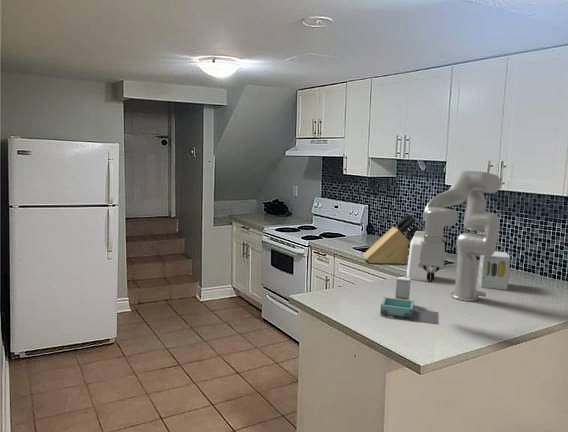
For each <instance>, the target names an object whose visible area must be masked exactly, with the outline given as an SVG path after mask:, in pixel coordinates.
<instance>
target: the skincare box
mask: <svg viewBox="0 0 568 432" xmlns="http://www.w3.org/2000/svg"><path fill="white" fill-rule="evenodd" d="M411 281H412V280H411V278H408V277H404V276H403V277H402V276H397V278H396V286H395V297H394V298H396V299H404V300H410V291H411Z"/></svg>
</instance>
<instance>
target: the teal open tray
mask: <svg viewBox="0 0 568 432" xmlns="http://www.w3.org/2000/svg"><path fill="white" fill-rule="evenodd" d="M414 303H415V300H412V299H409V300H404V299H396V298H395V297H394V298H393V297H386V296H384V297H383V298H382V301H381V304H380V310H379V311H380V312H379V314H380V315H382V316H386V315H390V316H398V317H405V318H406V319H408V318H412V314H413V309H414V305H415V304H414Z"/></svg>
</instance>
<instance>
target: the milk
mask: <svg viewBox="0 0 568 432" xmlns="http://www.w3.org/2000/svg"><path fill="white" fill-rule="evenodd" d="M424 232H425V231H416V233H415V235H414V237H413V238H412V240H411V243H410V249H409V250H408V258H407V268H406V269H407V270H406V276H407V277H406V278H411V281H422V282H423V281H425V282H428V280H427V272H426V271H425V270H424V268H421V267H418V264H419V256H420V248H421V243H422V241H424ZM429 269H430V272H432V266H429ZM430 280H431V276H430Z"/></svg>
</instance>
